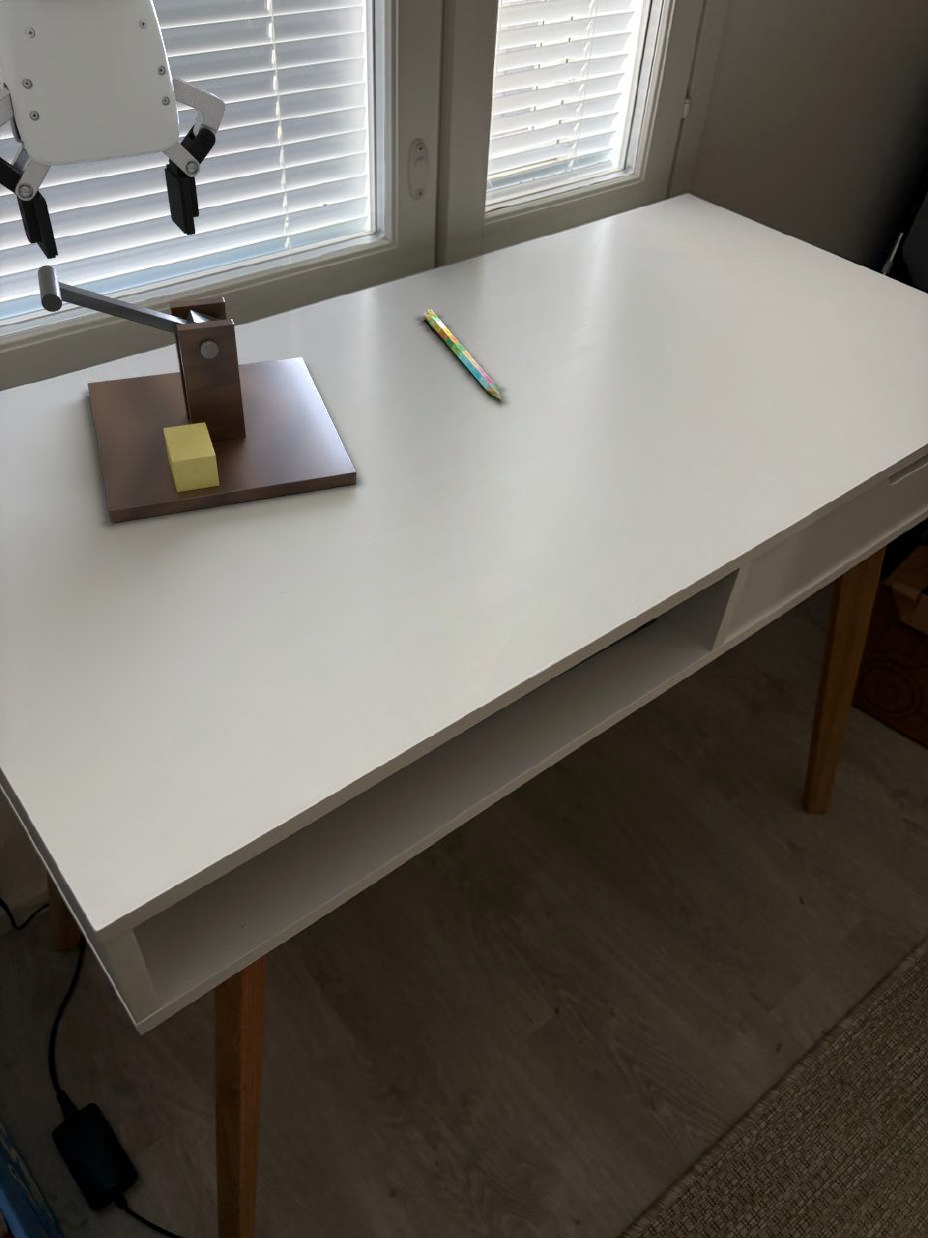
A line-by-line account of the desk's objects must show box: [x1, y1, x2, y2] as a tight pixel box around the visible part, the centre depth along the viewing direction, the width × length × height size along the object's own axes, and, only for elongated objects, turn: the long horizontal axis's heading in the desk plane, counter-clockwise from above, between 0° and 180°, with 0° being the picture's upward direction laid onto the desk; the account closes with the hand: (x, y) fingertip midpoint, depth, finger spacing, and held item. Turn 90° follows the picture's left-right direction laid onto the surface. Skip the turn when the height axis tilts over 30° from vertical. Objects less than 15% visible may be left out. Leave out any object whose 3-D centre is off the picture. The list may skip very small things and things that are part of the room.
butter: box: [163, 423, 219, 492], centre depth 83 cm, size 5×3×3 cm
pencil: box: [422, 309, 502, 401], centre depth 102 cm, size 1×1×18 cm
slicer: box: [87, 296, 357, 524], centre depth 86 cm, size 20×20×12 cm
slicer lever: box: [37, 264, 222, 334], centre depth 80 cm, size 14×5×2 cm, turn 112°
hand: (117, 239), depth 71 cm, fingers open, 9 cm apart
